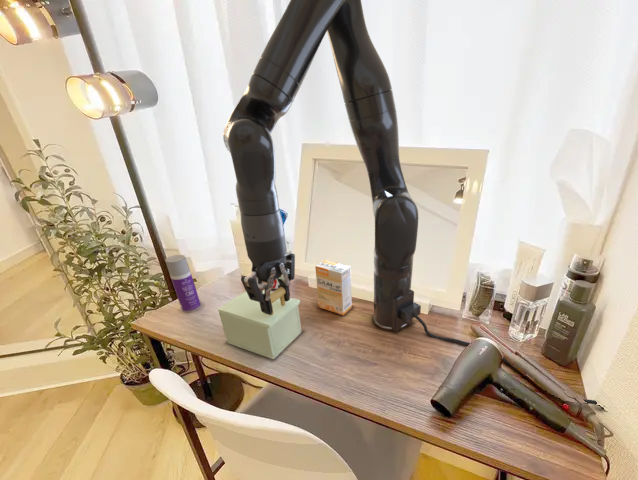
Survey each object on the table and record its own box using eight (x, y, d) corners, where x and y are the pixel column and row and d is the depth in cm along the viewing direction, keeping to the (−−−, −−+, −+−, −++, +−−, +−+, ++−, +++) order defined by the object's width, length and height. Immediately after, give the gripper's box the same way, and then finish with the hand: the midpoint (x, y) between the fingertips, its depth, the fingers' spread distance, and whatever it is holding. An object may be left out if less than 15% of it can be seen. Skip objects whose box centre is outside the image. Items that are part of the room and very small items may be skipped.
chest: (301, 332, 79) (297, 302, 75) (273, 359, 71) (266, 327, 67) (258, 318, 84) (252, 290, 80) (227, 343, 76) (218, 312, 71)
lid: (300, 302, 75) (297, 283, 72) (269, 328, 66) (265, 307, 64) (252, 289, 80) (248, 271, 77) (218, 311, 71) (212, 291, 69)
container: (193, 313, 86) (176, 263, 79) (178, 311, 87) (160, 261, 80) (204, 304, 90) (189, 255, 83) (190, 302, 91) (174, 253, 84)
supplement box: (318, 308, 89) (313, 265, 82) (328, 300, 92) (324, 258, 86) (343, 316, 85) (340, 272, 79) (352, 307, 89) (351, 265, 83)
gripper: (252, 249, 55) (268, 329, 63) (302, 224, 67) (309, 294, 75) (220, 242, 58) (239, 319, 66) (273, 219, 69) (283, 287, 78)
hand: (276, 306), depth 71 cm, fingers closed on lid, 5 cm apart
